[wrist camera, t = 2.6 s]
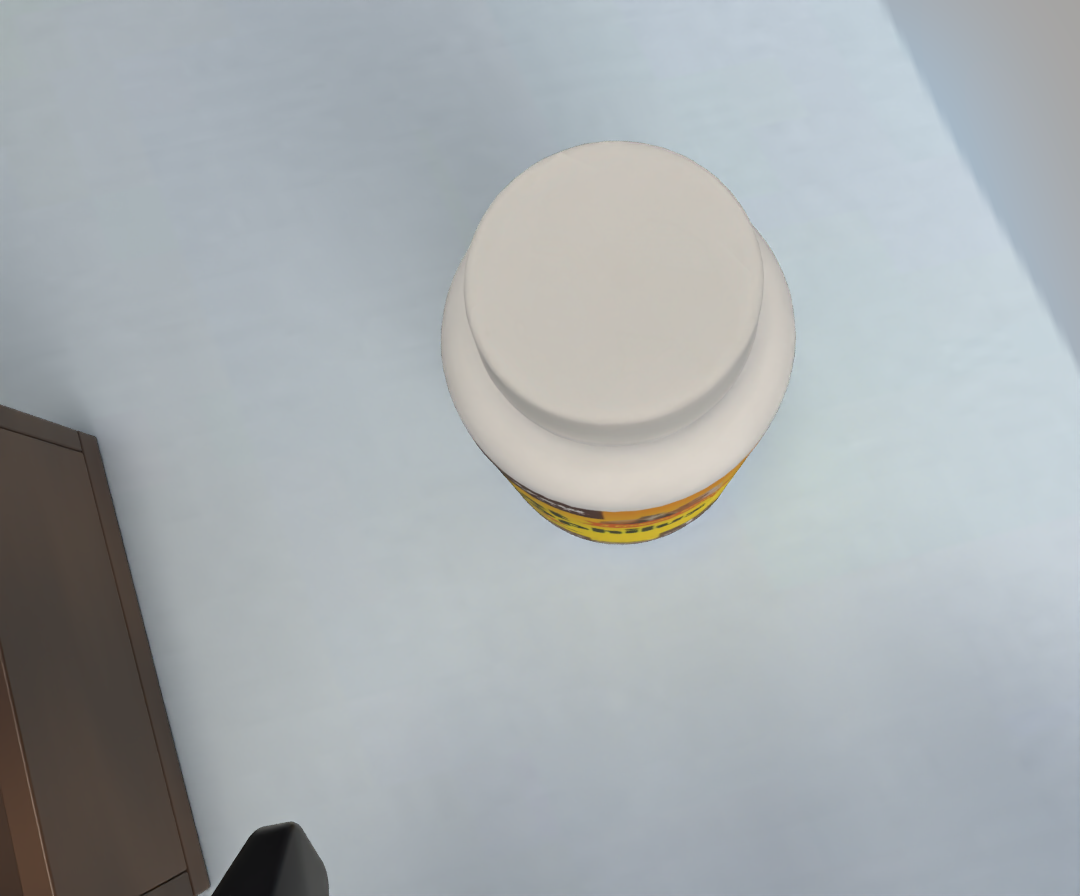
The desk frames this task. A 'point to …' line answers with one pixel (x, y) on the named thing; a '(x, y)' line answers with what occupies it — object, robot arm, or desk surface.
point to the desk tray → (79, 689)
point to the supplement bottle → (617, 339)
